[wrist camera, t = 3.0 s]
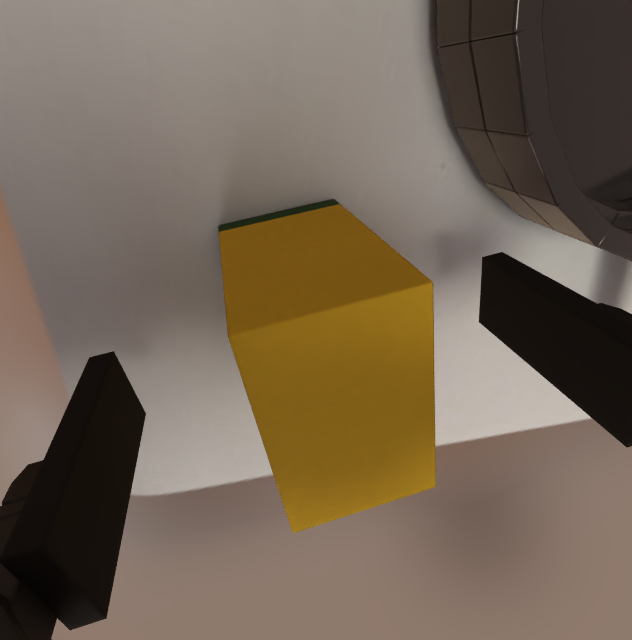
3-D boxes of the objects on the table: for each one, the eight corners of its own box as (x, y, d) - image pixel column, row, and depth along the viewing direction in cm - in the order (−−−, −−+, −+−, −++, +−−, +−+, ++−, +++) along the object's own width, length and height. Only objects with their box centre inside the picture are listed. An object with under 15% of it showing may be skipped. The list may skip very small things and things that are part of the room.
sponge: (217, 225, 15) (227, 335, 8) (334, 198, 16) (434, 281, 9) (261, 372, 19) (292, 533, 12) (354, 346, 19) (436, 487, 12)
